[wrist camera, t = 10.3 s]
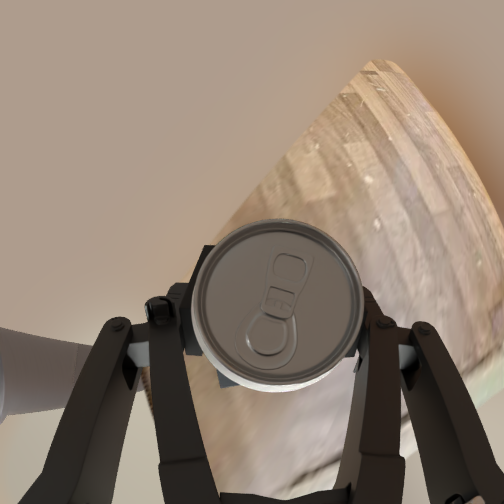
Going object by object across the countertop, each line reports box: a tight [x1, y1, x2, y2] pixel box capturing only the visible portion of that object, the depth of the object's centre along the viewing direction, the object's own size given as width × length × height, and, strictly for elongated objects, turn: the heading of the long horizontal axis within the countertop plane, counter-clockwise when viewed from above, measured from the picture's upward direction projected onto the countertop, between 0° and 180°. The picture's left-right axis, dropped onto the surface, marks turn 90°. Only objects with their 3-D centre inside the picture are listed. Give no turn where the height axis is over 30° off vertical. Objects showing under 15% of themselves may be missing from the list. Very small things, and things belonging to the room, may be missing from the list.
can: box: [191, 219, 364, 392], centre depth 15 cm, size 6×6×12 cm
